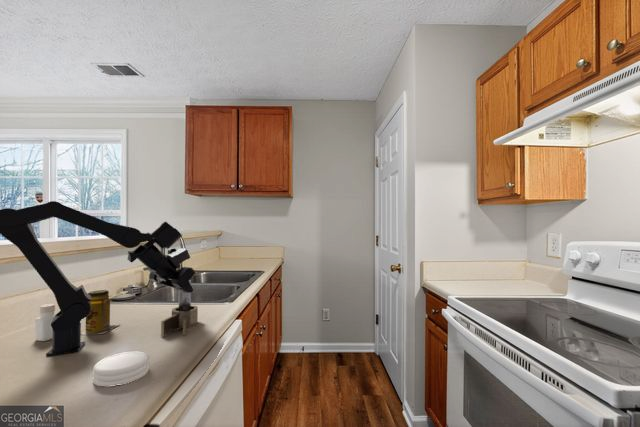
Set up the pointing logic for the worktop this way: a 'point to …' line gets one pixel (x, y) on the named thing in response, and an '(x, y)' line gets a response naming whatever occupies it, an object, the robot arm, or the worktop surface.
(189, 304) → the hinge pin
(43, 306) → the pepper shaker
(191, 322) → the hinge
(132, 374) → the coaster
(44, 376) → the worktop surface
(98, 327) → the condiment
